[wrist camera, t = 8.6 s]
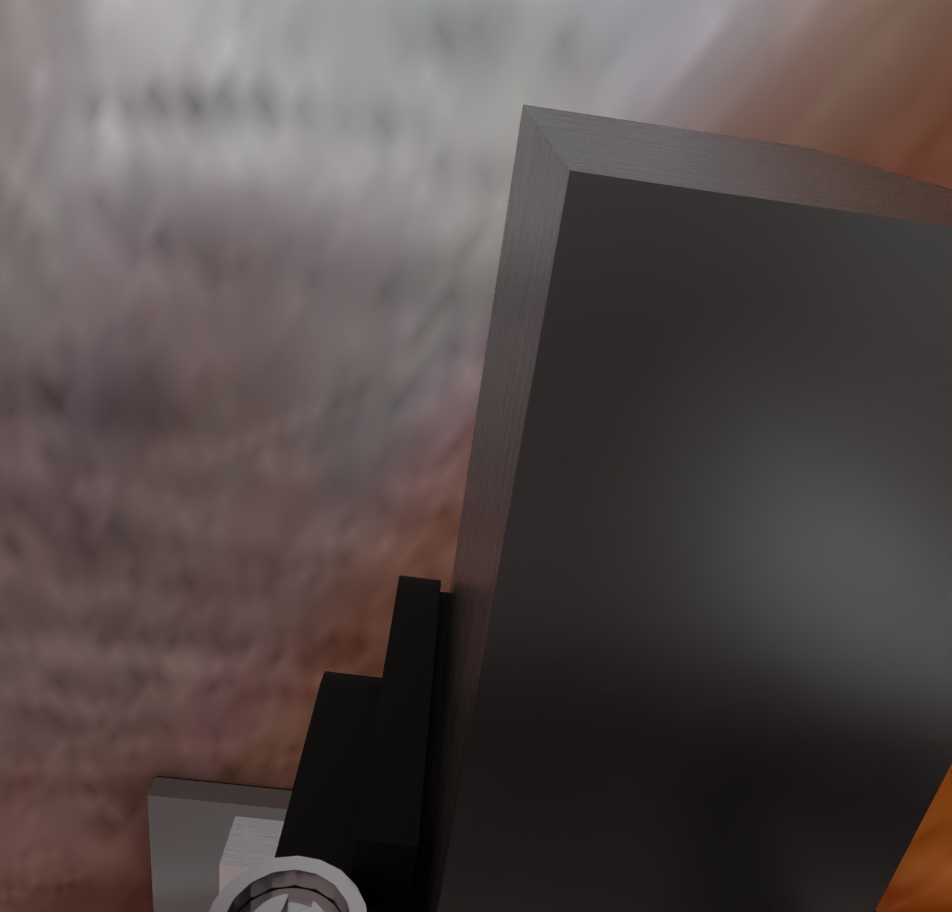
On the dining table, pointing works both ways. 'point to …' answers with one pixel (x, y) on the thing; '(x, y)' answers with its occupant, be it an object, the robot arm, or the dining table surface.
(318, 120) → the dining table surface
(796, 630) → the trowel
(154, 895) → the mat
